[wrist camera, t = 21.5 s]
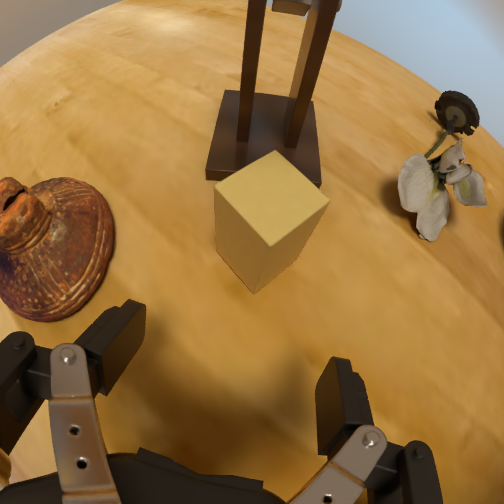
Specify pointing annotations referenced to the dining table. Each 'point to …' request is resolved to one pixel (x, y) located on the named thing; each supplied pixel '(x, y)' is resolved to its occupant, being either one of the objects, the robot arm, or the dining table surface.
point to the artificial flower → (442, 170)
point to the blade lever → (292, 6)
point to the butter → (265, 218)
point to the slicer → (273, 103)
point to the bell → (52, 246)
